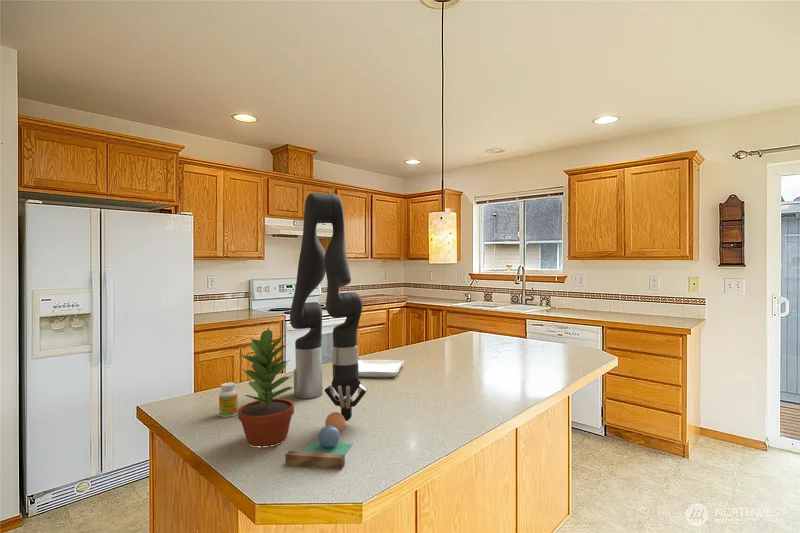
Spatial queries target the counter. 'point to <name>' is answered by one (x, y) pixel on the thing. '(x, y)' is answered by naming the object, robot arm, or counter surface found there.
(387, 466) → the counter surface
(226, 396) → the supplement bottle
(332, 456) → the stopper wall
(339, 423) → the orange ball
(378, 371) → the salad plate
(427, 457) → the counter surface
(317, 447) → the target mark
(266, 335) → the potted plant
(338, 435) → the object ball
